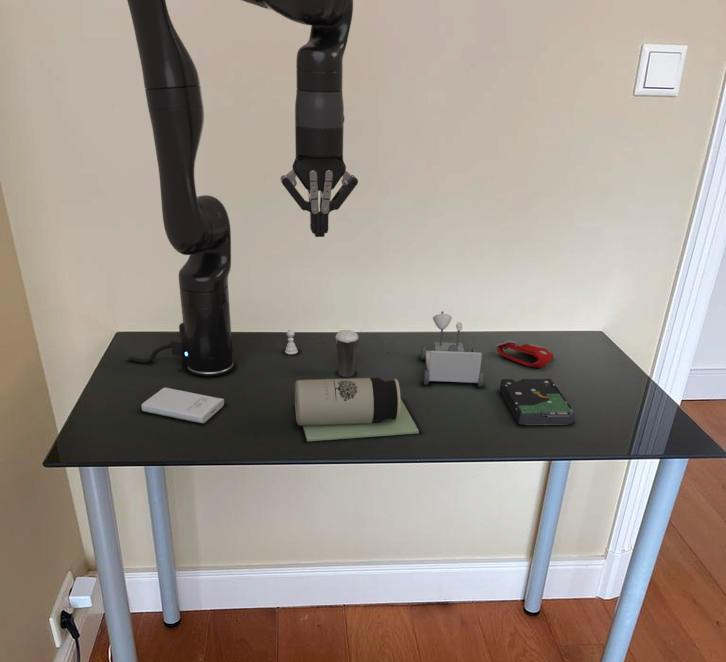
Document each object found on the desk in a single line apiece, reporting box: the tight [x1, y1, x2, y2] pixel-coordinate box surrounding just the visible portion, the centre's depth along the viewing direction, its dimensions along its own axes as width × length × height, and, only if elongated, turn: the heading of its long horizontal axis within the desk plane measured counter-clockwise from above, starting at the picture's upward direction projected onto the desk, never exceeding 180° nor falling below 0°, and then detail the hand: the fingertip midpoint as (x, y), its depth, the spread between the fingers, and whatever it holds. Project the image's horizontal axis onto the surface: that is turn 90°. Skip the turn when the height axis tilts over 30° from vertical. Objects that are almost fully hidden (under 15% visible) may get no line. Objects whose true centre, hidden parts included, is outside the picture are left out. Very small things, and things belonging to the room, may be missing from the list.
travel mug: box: [294, 377, 402, 427], centre depth 135 cm, size 8×8×18 cm
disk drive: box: [499, 378, 575, 426], centre depth 144 cm, size 10×3×15 cm
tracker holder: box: [494, 339, 554, 369], centre depth 163 cm, size 12×4×10 cm
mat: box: [302, 399, 420, 442], centre depth 138 cm, size 20×13×1 cm, turn 102°
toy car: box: [420, 311, 485, 388], centre depth 156 cm, size 18×10×12 cm
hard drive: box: [141, 387, 225, 424], centre depth 140 cm, size 2×8×12 cm
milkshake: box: [335, 329, 363, 378], centre depth 153 cm, size 4×5×10 cm
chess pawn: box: [284, 329, 299, 355], centre depth 162 cm, size 3×3×5 cm
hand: (319, 235), depth 128 cm, fingers closed
